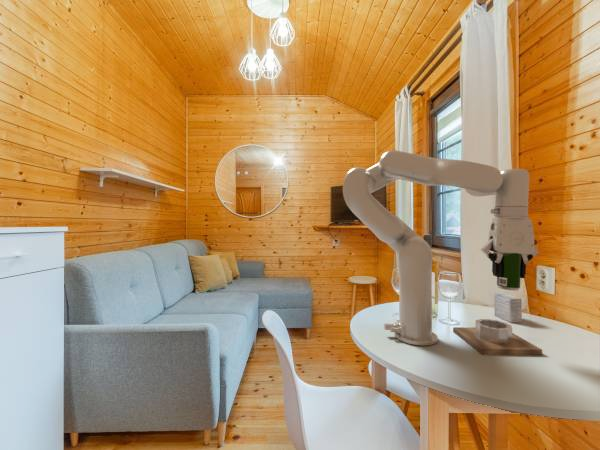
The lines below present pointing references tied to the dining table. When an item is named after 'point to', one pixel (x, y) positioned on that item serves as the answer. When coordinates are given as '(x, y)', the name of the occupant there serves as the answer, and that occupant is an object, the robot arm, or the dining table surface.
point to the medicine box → (508, 308)
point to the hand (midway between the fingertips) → (508, 276)
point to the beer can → (510, 272)
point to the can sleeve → (494, 331)
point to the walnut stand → (485, 347)
